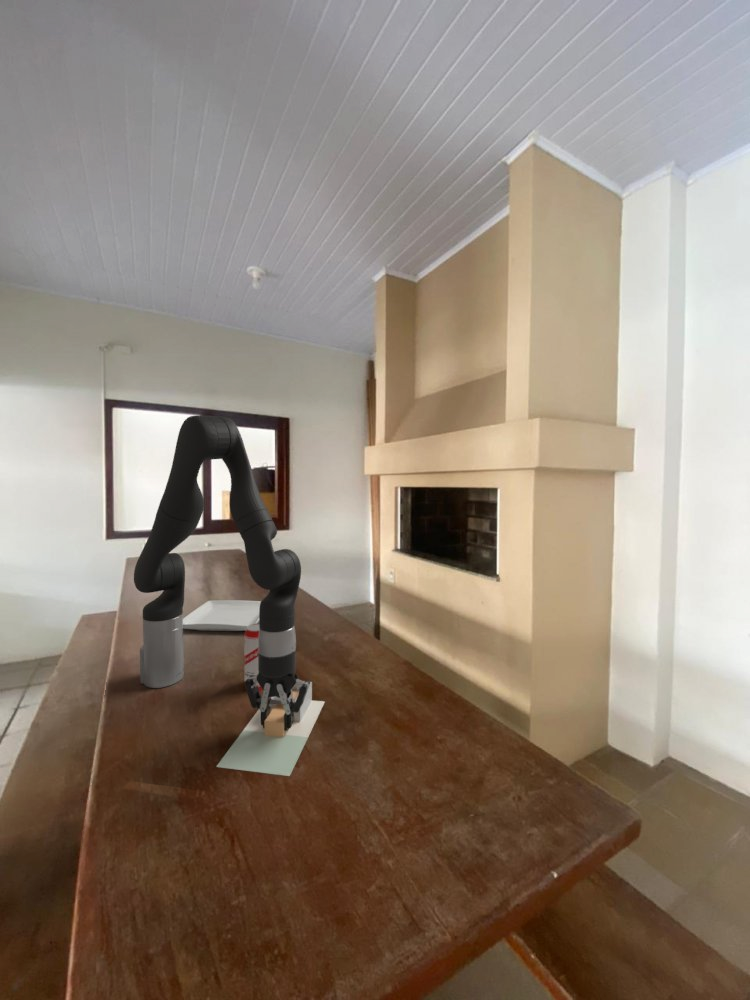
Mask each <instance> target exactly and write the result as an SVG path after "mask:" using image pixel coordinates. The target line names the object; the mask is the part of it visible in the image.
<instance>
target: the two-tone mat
mask: <svg viewBox="0 0 750 1000" xmlns="http://www.w3.org/2000/svg"><path fill="white" fill-rule="evenodd" d="M303 681H304V682H305V681H306V680H303ZM309 682H310V685H309V688H308V691H307V693H306V696H305V699H304V702H303V704H302V706H301V708H300V710H299V711H298V712H297V713H296V712H294V719H293V720H294V722H293V724H292V726H291V728H289V730H288V731H286V733H285V735H284V737H277V736H268V735H264V728H263V725H261V711H260V709H258V710H257V711H256V713H255V714H253V717H251V719H250V721H249V722H248V723H247V724H246V725H245V727H244V728H243V730H242V731H241V732H240V734H239V735H238V737H236V739H235V741H233V743H232V744H231V746H230V748H229V749H228V750H227V752H226V753H225V754H224V756H223V757H222V758H221V759H220V760H219V762H218V764H217V765H216V766H215V767H216V768H220V769H221V768H222V769H230V770H236V771H238V770H239V771H243V772H245V771H247V772H252V773H260V774H261V773H262V774H268V775H276V776H284V777H285V776H286V777H290V776H291V775H292V772H293V770H294V769H295V766H296V764H297V761H298V759H299V757H300V756H301V753H302V751H303V749H304V747H305V744H306V743H307V741H308V739H309V736H310V734H311V732H312V730H313V728H314V725H315V724H316V722H317V720H318V718H319V716H320V713H321V712H322V708H323V707H324V705H325V702H326V701H323V700H313V682H312V681H309ZM292 690H295V691H297V686H296V685H294V687H293V688H292ZM297 697H298V696H297ZM297 697H296V699H293V701H294V703H295V702H296V700H297ZM275 705H283V704H282V703H281V700H280V698H278V697H276V696H275V697H271V701H270V704H269V706H270V711H272V709H273V708H274V706H275Z"/></svg>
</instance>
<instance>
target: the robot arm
mask: <svg viewBox="0 0 750 1000" xmlns="http://www.w3.org/2000/svg"><path fill="white" fill-rule="evenodd" d="M174 448H175V449H174V455H173V460H172V463H171V464H172V465H171V469H170V471H169V475H168V479H167V482H166V485H165V488H164V492H163V494H162V496H161V499H160V501H159V504H158V508H157V510H156V515H155V517H154V521H153V525H152V528H151V530H150V532H149V535H148V538H147V540H146V542H145V544H144V547H143V548H142V550H141V553H140V554H139V557H138V559H137V562H136V564H135V566H134V572H133V584H134V586H135V588H136V589H137V591H139V592H140V593H143V594H150V593H151V594H152V593H155V592H156V593H157V592H161V591H162V593H161V594H160V595H159V596H157V597H156V598H155V599H153V600H151V601H150V602H148V603H147V604H146V605H144V606H143V609H142V637H143V640H142V641H143V644H142V645H141V646H140V647H139V665H140V667H139V672H140V674H139V675H140V678H139V679H140V684H144V686H145V687H147V688H152V689H160V688H165V687H169V686H172V685H174V684H176V683H178V682H180V681H181V680H182V679H184V676H185V675H184V671H185V669H184V629H183V618H184V615H183V614H184V613H183V608H184V603H185V585H186V583H185V582H186V569H185V568H186V567H185V562H184V559H183V557H182V555H180V554H179V553H176V552H172V551H173V550H174V549H176V548H177V547H178V546H180V544H182V543H183V542H185V541H186V540H187V539H188V538H189V537H190V536H191V535H192V534H193V533H194V532H195V531H196V529H197V527H198V526H199V522H200V520H201V518H202V516H203V512H204V510H205V509H204V508H205V499H204V498H205V497H204V495H203V493H202V490H201V488H200V486H199V483H198V476H199V474H200V473H199V471H200V469H201V467H202V466H203V464H204V462H205V461H206V460H207V461H208V460H211V461H212V460H222V462H223V463H224V464H225V467H226V468H227V470H228V472H229V474H230V475H229V476H230V493H229V494H230V495H229V510H230V511H229V512H230V515H231V518H232V520H233V522H234V524H235V526H236V529H237V531H238V533H239V535H240V537H241V539H242V540H243V544H244V549H245V556H246V561H247V565H248V571H249V574H250V577H251V578H252V580H253V581H254V583H255V584H256V585H257V586H258V587H259V588H261V589H264V590H266V591H269V592H268V594H267V595H266V596H265V597H264V598H263V599H262V600H260V601H261V603H260V609H259V622H258V623H259V636H258V671H259V673H258V675H257V676H254V675H251V676H250V677H249V678H248V679H247V680H246V681H244V682H243V685H244V689H245V688H246V689H245V690H246V693H247V697H248V700H249V702H250V705H251V707H252V709H258V710H259V709H260V711H261V725H263V728H264V721H265V719H267V717H268V716H269V714H270V713H271V711H270V706H269V704H270V701H271V697H275V696H276V697H278V698H280V700H281V703H282V704H283V706H284V710H285V714H284V731H288V730H289V728H291V726H292V724H293V722H294V720H293V719H294V718H293V717H294V712H296V713H297V712H298V711H299V710H300V708H301V706H302V704H303V702H304V699H305V696H306V693H307V691H308V688H309V685H310V682H311V681H310V680H309V679H305V680H301V679H299V676H298V675H297V673H296V669H297V665H296V664H297V663H296V661H297V659H296V658H297V657H296V653H297V651H296V649H297V638H296V637H297V636H296V628H295V604H296V600H297V596H298V592H299V587H300V583H301V579H302V578H301V576H302V564H301V561H300V558H299V556H298V555H297V553H296V552H294V550H291V549H288V548H283V549H279V550H275V551H274V547H273V543H272V540H274V539H275V537H276V536H277V535H278V530H277V527H276V524H275V522H274V520H273V519H272V516H271V513H270V512H269V510H268V508H267V506H266V504H265V502H264V500H263V498H262V496H261V493H260V490H259V488H258V485H257V483H256V482H257V481H256V479H255V476H254V473H253V470H252V467H251V462H250V460H249V456H248V454H247V450H246V447H245V443H244V440H243V438H242V434H241V432H240V430H239V428H238V426H237V424H236V423H235V422H234V421H233V420H232V419H231V418H230V417H229V418H228V417H226V416H219V415H191V416H188V417H187V418H186V419H184V420H183V422H182V424H181V427H180V428H179V431H178V435H177V439H176V445H175V447H174ZM304 681H305V682H304ZM258 683H259V685H260V686H261V688H262V689H263V690H262V692H263V693H262V694H261V693H260V692H261V691H259V689H258ZM294 685H296V686H297V692H298V693H299V694H298V697H297V700H296V702H295V703H294V701H293V692H292V688H293V687H294Z"/></svg>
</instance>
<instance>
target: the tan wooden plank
mask: <svg viewBox="0 0 750 1000" xmlns="http://www.w3.org/2000/svg"><path fill="white" fill-rule="evenodd" d="M292 692H293V699H296V697H297V696H298V694H299V693H298V692H297V691H295V690H292ZM284 714H285V710H284V706H283V705H275V706H274V708H273V709H272V711H271V713H270V714H269V716H268V717H267V719H265V721H264V735H268V736H277V737H284V735H285V733H286V731H284ZM293 718H294V717H293Z"/></svg>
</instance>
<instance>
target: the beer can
mask: <svg viewBox="0 0 750 1000" xmlns="http://www.w3.org/2000/svg"><path fill="white" fill-rule="evenodd" d="M243 636H244V637H243V638H244V639H243V641H244V644H243V645H244V646H243V648H244V649H243V651H244V652H243V653H244V654H243V655H244V657H243V659H244V663H243V664H244V666H243V667H244V671H243V672H244V674H243V675H244V680H243V681H244V682H245V681H246V680H247V679H248V678H249V677H250V676H251V675H254V676H257V675H258V673H259V671H258V636H259V622H258V623H255V624H251V625H249V626H247V630H245V632H244V635H243ZM244 689H245V690H246V688H245V687H244ZM258 689H259V692H261V691H263V689H262V688H261V686H260V685H259V683H258Z"/></svg>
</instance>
